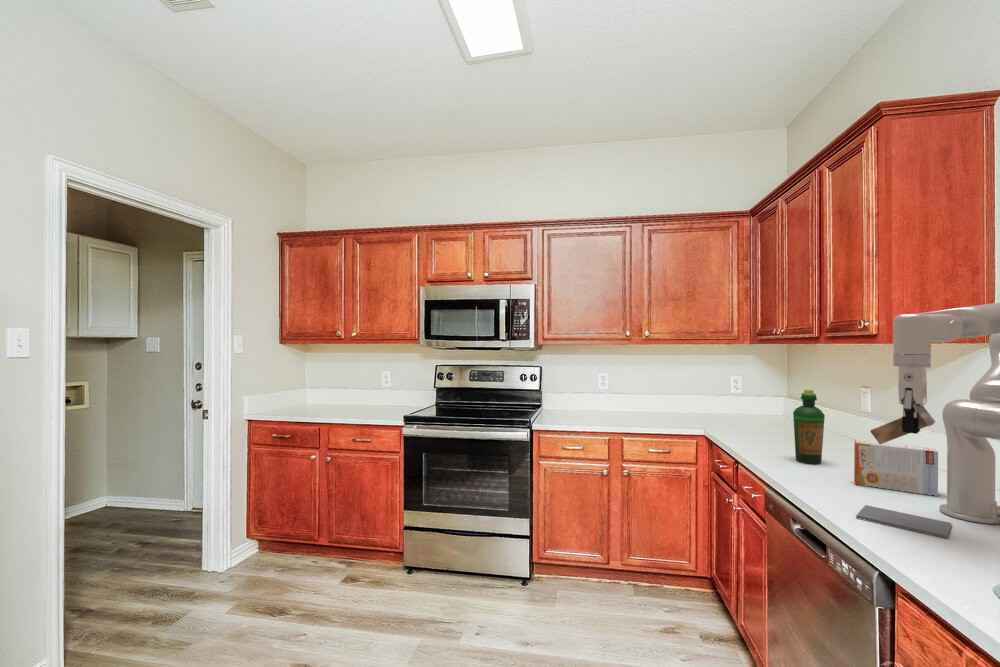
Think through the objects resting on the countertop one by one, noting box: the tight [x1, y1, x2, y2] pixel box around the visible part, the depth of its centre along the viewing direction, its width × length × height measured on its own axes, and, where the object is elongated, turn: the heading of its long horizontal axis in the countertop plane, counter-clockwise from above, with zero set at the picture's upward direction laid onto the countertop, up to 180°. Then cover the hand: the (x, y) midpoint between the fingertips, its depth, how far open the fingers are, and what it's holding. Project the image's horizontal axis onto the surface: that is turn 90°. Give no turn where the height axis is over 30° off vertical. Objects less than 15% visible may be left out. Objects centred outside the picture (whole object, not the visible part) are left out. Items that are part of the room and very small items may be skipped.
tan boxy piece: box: [869, 403, 936, 444], centre depth 129 cm, size 13×8×6 cm
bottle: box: [792, 389, 825, 465], centre depth 191 cm, size 11×11×28 cm
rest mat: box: [855, 504, 952, 540], centre depth 128 cm, size 18×12×1 cm, turn 44°
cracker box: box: [853, 439, 939, 497], centre depth 158 cm, size 14×6×21 cm
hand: (911, 431), depth 127 cm, fingers closed on tan boxy piece, 3 cm apart
